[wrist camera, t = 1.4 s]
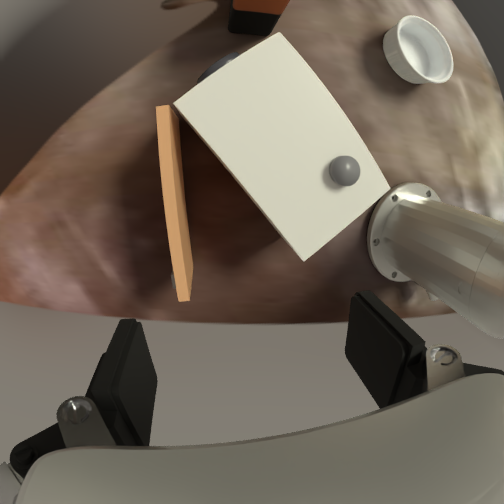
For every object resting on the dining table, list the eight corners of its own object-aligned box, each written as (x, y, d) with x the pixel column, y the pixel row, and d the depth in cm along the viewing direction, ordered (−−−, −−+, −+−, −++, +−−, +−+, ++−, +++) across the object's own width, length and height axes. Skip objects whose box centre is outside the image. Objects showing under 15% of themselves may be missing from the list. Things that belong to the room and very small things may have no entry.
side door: (164, 120, 25) (149, 107, 18) (178, 118, 26) (168, 104, 18) (180, 267, 30) (172, 302, 23) (193, 266, 30) (189, 300, 23)
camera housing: (352, 180, 30) (395, 189, 22) (281, 237, 31) (306, 265, 23) (256, 52, 25) (273, 19, 17) (175, 109, 25) (163, 91, 18)
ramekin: (377, 74, 27) (398, 66, 23) (377, 15, 24) (395, 3, 20) (432, 97, 28) (454, 94, 24) (430, 41, 26) (451, 34, 22)
